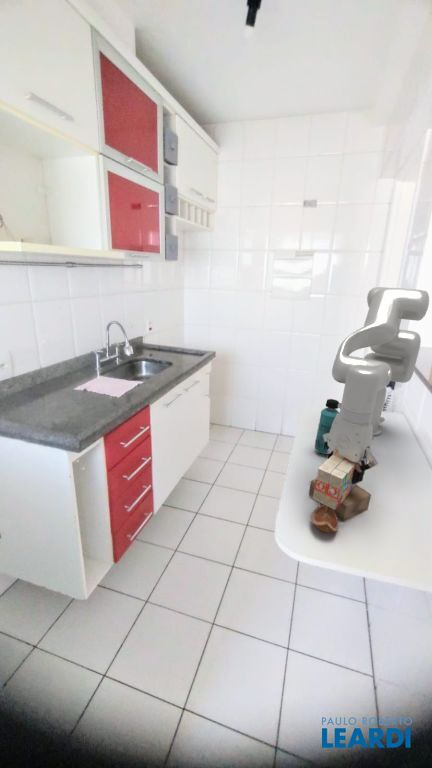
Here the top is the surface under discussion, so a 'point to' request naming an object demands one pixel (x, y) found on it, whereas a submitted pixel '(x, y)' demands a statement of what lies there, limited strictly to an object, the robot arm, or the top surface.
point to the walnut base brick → (349, 502)
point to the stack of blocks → (334, 480)
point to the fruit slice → (325, 519)
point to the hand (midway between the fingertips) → (343, 473)
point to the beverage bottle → (326, 424)
